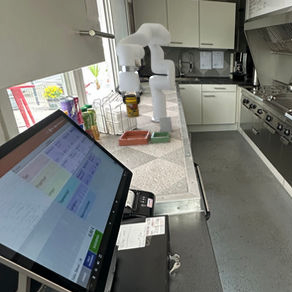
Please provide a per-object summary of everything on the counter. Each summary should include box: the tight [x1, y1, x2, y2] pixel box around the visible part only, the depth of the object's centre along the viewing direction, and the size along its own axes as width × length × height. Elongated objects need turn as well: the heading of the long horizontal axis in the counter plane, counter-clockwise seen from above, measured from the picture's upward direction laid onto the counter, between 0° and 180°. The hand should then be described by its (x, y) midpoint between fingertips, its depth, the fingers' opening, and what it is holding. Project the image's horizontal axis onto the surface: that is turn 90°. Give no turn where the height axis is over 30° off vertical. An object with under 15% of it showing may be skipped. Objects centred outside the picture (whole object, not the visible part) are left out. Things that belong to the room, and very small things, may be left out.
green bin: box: [150, 131, 171, 144], centre depth 138 cm, size 11×9×4 cm
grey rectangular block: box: [159, 116, 173, 133], centre depth 151 cm, size 4×7×10 cm, turn 113°
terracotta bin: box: [118, 129, 152, 146], centre depth 136 cm, size 16×14×4 cm
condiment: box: [121, 93, 142, 119], centre depth 130 cm, size 7×8×12 cm
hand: (132, 103), depth 130 cm, fingers closed on condiment, 6 cm apart
